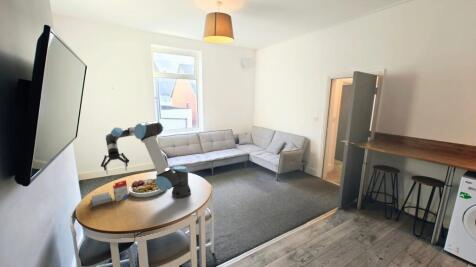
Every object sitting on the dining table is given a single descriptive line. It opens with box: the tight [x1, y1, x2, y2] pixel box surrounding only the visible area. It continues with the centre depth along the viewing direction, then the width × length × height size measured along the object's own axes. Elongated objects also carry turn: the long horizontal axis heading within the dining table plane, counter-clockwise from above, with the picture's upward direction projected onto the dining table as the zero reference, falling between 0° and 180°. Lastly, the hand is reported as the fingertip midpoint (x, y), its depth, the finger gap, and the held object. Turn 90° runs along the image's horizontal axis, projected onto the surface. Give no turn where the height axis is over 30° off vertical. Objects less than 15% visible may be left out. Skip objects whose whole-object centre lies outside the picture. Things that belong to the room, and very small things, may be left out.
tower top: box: [91, 191, 112, 206], centre depth 152 cm, size 11×11×3 cm
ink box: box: [112, 180, 129, 202], centre depth 159 cm, size 8×5×15 cm, turn 141°
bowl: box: [128, 177, 164, 198], centre depth 174 cm, size 30×30×8 cm
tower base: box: [90, 194, 114, 211], centre depth 153 cm, size 13×13×3 cm
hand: (117, 171), depth 165 cm, fingers open, 13 cm apart
